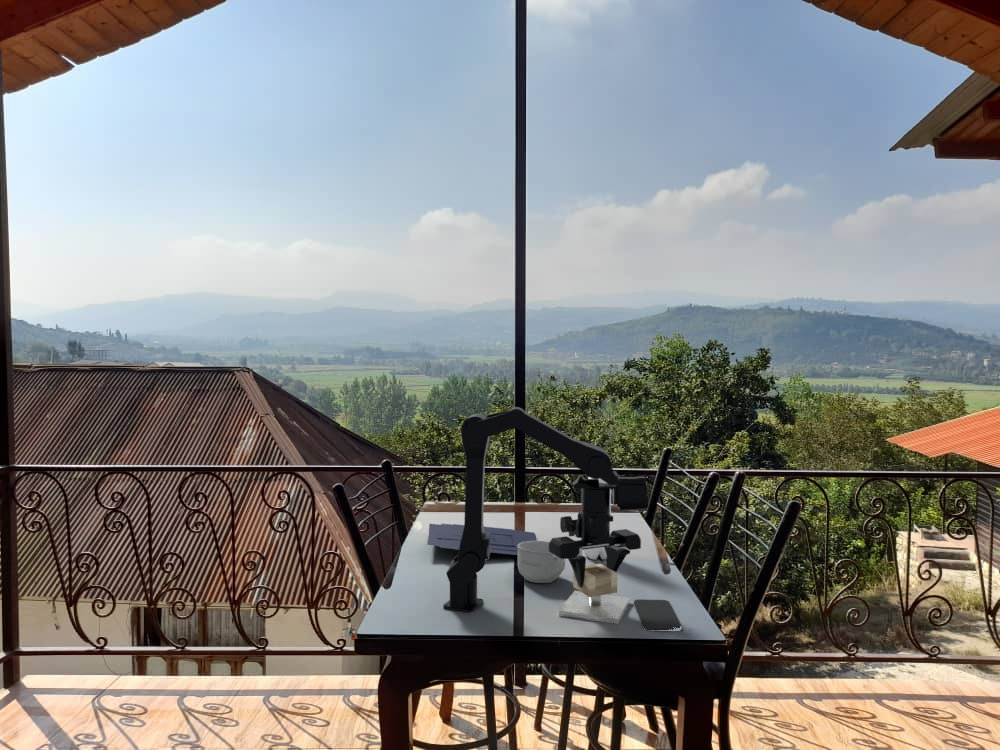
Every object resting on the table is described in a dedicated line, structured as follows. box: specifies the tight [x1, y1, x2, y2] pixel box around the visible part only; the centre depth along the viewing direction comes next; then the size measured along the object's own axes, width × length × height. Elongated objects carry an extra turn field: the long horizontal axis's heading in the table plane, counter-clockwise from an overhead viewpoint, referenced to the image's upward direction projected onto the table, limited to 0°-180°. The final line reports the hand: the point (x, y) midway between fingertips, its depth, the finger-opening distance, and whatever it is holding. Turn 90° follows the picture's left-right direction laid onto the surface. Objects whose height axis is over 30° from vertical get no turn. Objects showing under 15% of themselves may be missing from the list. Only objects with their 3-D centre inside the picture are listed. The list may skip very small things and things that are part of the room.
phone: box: [633, 598, 682, 631], centre depth 140 cm, size 7×1×15 cm
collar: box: [572, 563, 618, 597], centre depth 144 cm, size 6×6×4 cm
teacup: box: [517, 540, 566, 584], centre depth 160 cm, size 14×11×8 cm
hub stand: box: [558, 590, 631, 625], centre depth 144 cm, size 12×12×6 cm
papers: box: [427, 523, 538, 556], centre depth 187 cm, size 24×30×4 cm
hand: (595, 584), depth 144 cm, fingers closed on collar, 6 cm apart
